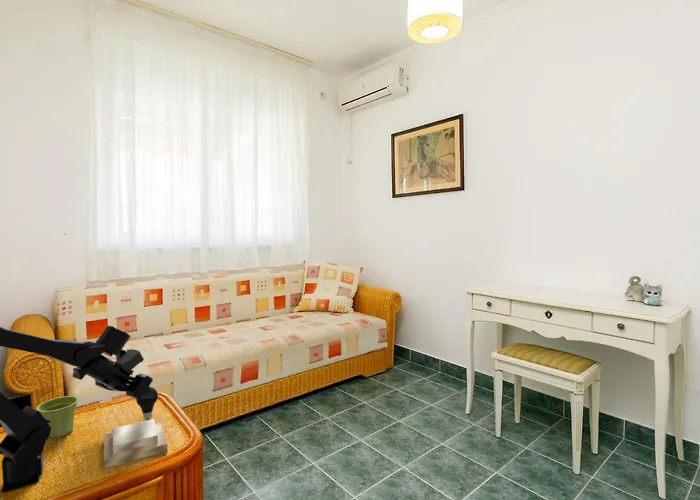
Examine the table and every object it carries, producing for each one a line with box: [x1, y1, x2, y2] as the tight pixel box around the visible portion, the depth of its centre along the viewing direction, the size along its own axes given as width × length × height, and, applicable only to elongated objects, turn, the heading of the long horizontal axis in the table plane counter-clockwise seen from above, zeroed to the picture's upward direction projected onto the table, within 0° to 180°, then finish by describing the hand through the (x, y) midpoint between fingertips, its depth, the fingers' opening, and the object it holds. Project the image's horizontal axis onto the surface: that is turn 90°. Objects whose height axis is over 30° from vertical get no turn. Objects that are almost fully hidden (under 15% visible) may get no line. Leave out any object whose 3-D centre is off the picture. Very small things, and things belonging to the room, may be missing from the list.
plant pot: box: [36, 395, 79, 439], centre depth 110 cm, size 9×9×9 cm
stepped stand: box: [103, 418, 168, 470], centre depth 103 cm, size 14×14×4 cm
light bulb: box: [135, 386, 159, 421], centre depth 117 cm, size 6×6×10 cm
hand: (143, 393), depth 116 cm, fingers open, 9 cm apart
